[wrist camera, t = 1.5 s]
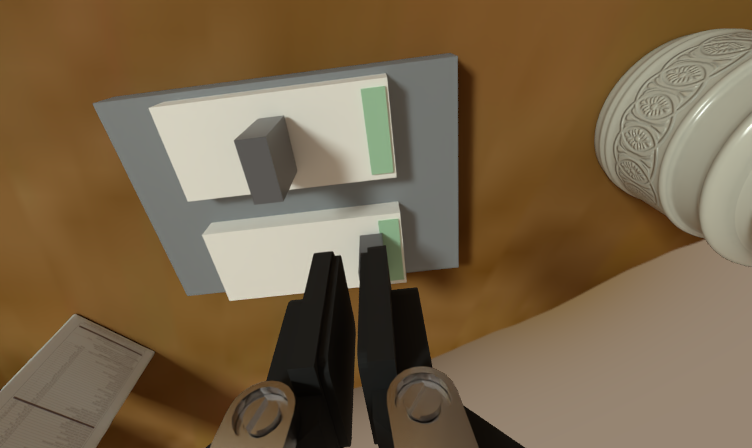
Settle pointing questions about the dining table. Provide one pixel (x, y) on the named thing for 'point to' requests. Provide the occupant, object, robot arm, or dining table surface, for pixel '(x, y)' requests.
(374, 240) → the breaker handle
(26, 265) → the dining table surface
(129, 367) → the supplement box
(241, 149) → the breaker handle
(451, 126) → the breaker panel
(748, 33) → the jar
